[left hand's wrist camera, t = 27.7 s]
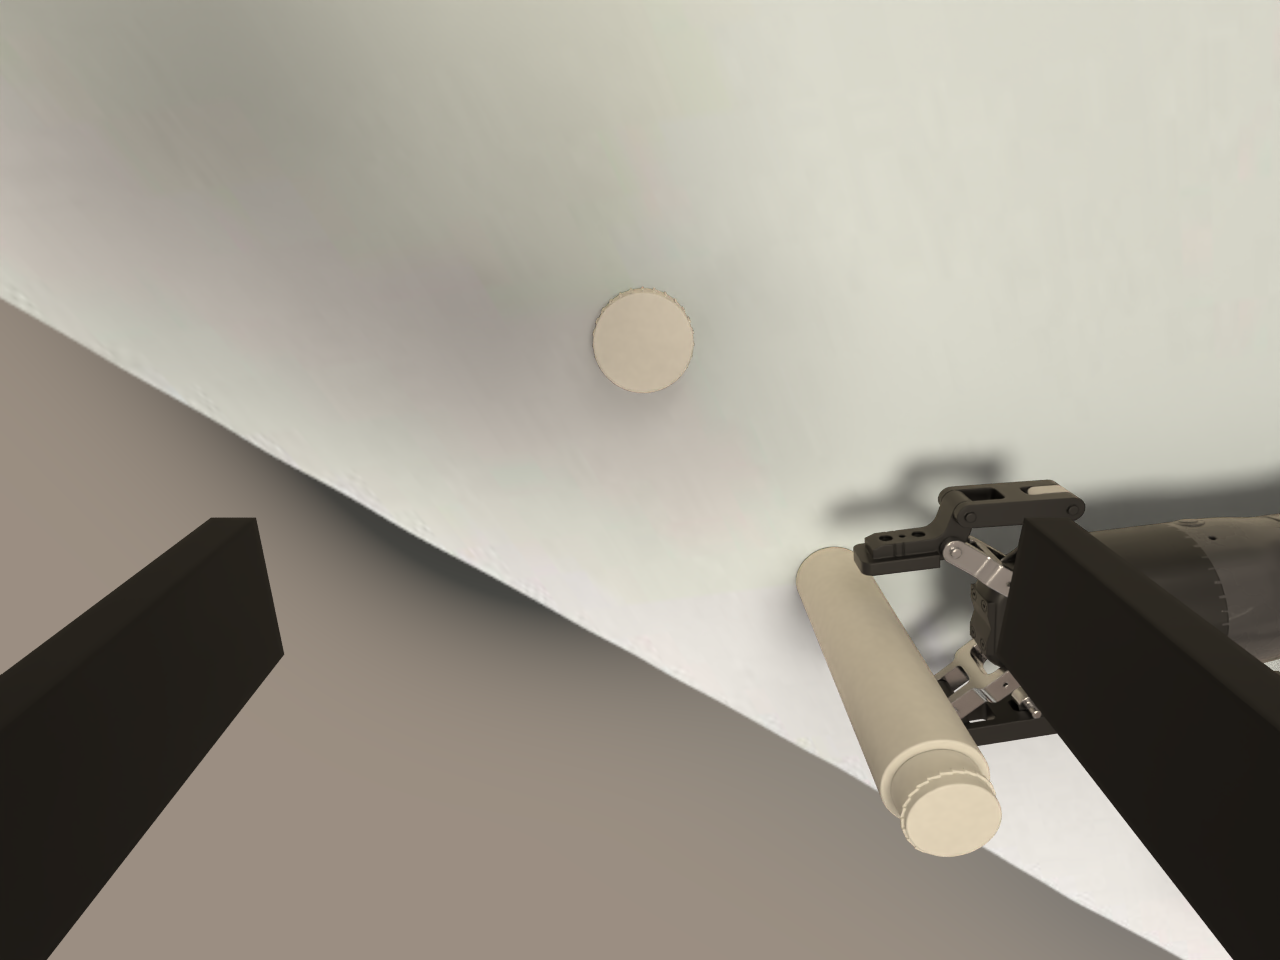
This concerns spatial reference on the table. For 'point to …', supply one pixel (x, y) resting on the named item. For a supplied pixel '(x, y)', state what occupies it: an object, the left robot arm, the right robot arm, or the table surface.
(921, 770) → the cream cylindrical bottle
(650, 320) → the lid
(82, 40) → the table surface
